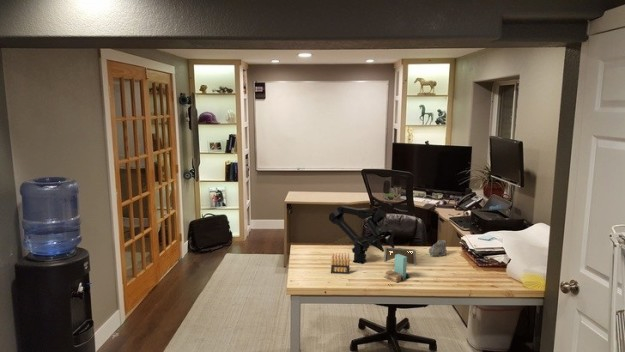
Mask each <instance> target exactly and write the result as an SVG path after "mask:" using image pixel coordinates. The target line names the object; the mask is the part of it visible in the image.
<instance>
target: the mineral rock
mask: <svg viewBox="0 0 625 352" xmlns="http://www.w3.org/2000/svg"><path fill="white" fill-rule="evenodd" d="M428 251H429V255H430V256H433V257H436V256H437V257H439V256H443V255H445V256H446V255H447V241H446V240H445V239H443V240H441V239H438V240H437V242H435V243H433V245H432V246H431V247H430V248H429V249H428Z"/></svg>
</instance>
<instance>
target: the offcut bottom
mask: <svg viewBox="0 0 625 352" xmlns="http://www.w3.org/2000/svg"><path fill="white" fill-rule="evenodd" d="M384 277H385V278H384V279H387V280H389V279H390V280H389V281H391V280H392V282H394V281H395V282H394V283H396V282H399V281H401V278H400V279H397V280H395V279H393V278H390V277H388V276H386V275H385V276H384ZM399 283H400V282H399Z"/></svg>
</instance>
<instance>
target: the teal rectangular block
mask: <svg viewBox="0 0 625 352" xmlns="http://www.w3.org/2000/svg"><path fill="white" fill-rule="evenodd" d="M394 262H395V263H394V268H393V271H395V272H397V273H400V274H402V276H404V278H406V273H407V265H408V264H407V257H406V256H403V255H400V254H397V255H395V258H394Z"/></svg>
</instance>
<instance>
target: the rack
mask: <svg viewBox="0 0 625 352" xmlns="http://www.w3.org/2000/svg"><path fill="white" fill-rule="evenodd" d="M383 278H384V279H386V278H385V276H383ZM409 279H411V273H409V272H406V278H404V276H402V277H401V281H399V282H395V281H392V280H390V279H388V280H389V281H392V282H394V283H396V284H399V283H403V282H404V281H407V280H409Z"/></svg>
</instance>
